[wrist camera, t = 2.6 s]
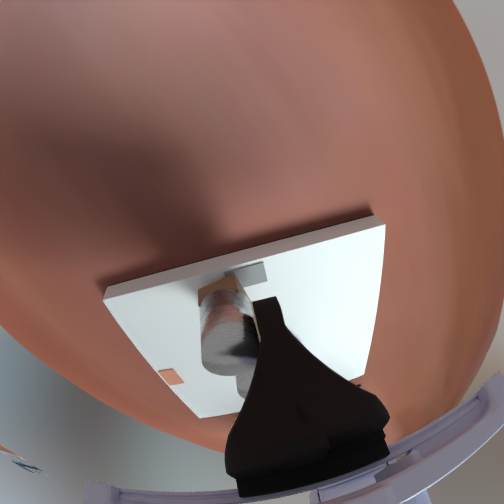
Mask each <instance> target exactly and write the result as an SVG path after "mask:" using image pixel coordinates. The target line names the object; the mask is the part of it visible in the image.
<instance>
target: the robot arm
mask: <svg viewBox="0 0 504 504" xmlns="http://www.w3.org/2000/svg"><path fill="white" fill-rule="evenodd" d="M252 304H253V308H254V313H255V317H256V321H257V326H258V330H259V334H260V338H261V340H260V346H259V352H258V358H257V362H256V367H255V370H254V374H253V378H252V381H251V384H250V387H249V390H248V393H247V396H246V398H245V401H244V403H243V406H242V408H241V410H240V413H239V415H238V417H237V419H236V421H235V423H234V425H233V427H232V429H231V431H230V433H229V435H228V439H227V444H226V449H225V467H226V473H227V474H228V475H230V476H231V477H233V478H235V479H236V482H237V488H238V489H231V490H221V491H205V492H157V491H142V490H132V489H123V488H118V487H116V486H114V485H111V484H107V483H102V482H96V481H91V480H85V492H84V504H241V503H249V502H256V501H263V500H269V499H275V498H280V497H285V496H289V495H294V494H298V493H302V492H306V491H310V490H311V492H310V496H309V498H310V504H432V503H431V501H430V498H429V496H428V493H427V491H426V489H427V488H429V487H430V486H432V485H433V484H435V483H436V482H438V481H439V480H441V479H442V478H443V477H445V476H446V475H448V474H449V473H450V472H451V471H453V470H454V469H456V468H457V467H458V466H459V465H461V464H462V463H463V462H464V461H466V460H467V459H468V458H469V457H470V456H472V455H473V454H474V453H475V452H476V451H477V450H479V449H480V448H481V447H482V446H483V445H484V444H485V443H486V442H487V441H488V440H489V439H490V438H491V437H492V436H493V435H494V434H496V433H497V432H498V431H499V429H501V428H502V426H504V377H503V375H502V374H501V372H500V371H498V372H497V373H495V374H494V375H493V376H492V377H491V378H490V379H489V380H487V381H486V382H485V383H484V384H483V385H482V386H481V387H480V388H479V389H478V390H477V391H476V393H475V394H474V395H472V396H471V397H470V398H468V399H467V400H465V401H464V402H463V403H461V404H460V405H458V406H457V407H455V408H454V409H453V410H451V411H450V412H448V413H446V414H445V415H443V416H442V417H440V418H439V419H437V420H435V421H434V422H432V423H430V424H429V425H427V426H425V427H424V428H422V429H420V430H418V431H416V432H415V433H413V434H411V435H409V436H407V437H405V438H403V439H401V440H399V441H397V442H395V443H393V444H391V445H389V446H387V444H386V442H385V440H384V438H385V433H384V431H383V428H384V427H385V425H386V424H387V423H388V421H389V419H390V416H389V413H388V411H387V410H386V408H385V407H384V405H383V404H382V402H381V401H380V400H379V399H378V397H377V396H376V395H374V394H372V393H370V392H368V391H366V390H364V389H363V387H358V386H357V385H355V384H353V383H352V382H350V381H348V380H347V379H345V378H343V377H342V376H341V375H339V374H338V373H336V372H335V371H333V370H332V369H331V368H329V367H328V366H326V365H325V364H324V363H323V362H322V361H320V360H319V359H318V358H317V357H316V356H314V355H313V354H312V353H311V352H310V351H309V350H308V349H307V348H306V347H305V346H304V345H303V344H302V343H301V342H300V341H299V340H298V339H297V338H296V337H295V336H294V335H293V334H292V333H291V331H290V330H289V329H288V328H287V327H286V325H285V322H284V318H283V314H282V309H281V306H280V304H279V301H278V299H277V297H276V296H274V297H269V298H265V299H261V300H257V301H253V302H252ZM405 453H407V454H406V456H405V457H403V458H401V459H399V460H398V461H397V460H396V459H395V458H397V457H399V456H401V455H403V454H405Z"/></svg>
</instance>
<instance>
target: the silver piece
mask: <svg viewBox="0 0 504 504" xmlns="http://www.w3.org/2000/svg"><path fill="white" fill-rule="evenodd" d="M198 306H199V307H200V337H201V359H202V365H203V366H204V368H205V369H206V370H208V371H209V372H211V373H213V374H216V375H221V376H235V379H236V386H237V391H238V394H239V395H240V396H241V397H242V398H244V399H245V398H246V396H247V393H248V390H249V387H250V384H251V381H252V378H253V374H254V370H255V367H256V362H257V358H258V352H259V346H260V340H261V338H260V334H259V330H258V326H257V321H256V317H255V313H254V308H253V304H252V302H251V300H250V299H249V297H248V295H247V294H246V292H245V290H244V289H243V287H242V285H241V284H240V282H239V280H238V278H237V277H236V275H235V273H234V274H232V275H230V276H227V277H225V278H223V279H220V280H218V281H216V282H214V283H211V284H209V285H207V286H204V287H202V288H200V289H198ZM301 343H302V342H301ZM302 344H303V343H302ZM303 345H304V344H303Z"/></svg>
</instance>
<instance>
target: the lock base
mask: <svg viewBox="0 0 504 504" xmlns="http://www.w3.org/2000/svg"><path fill="white" fill-rule="evenodd" d="M384 240H385V223H383V222H382V221H381V220H380V219H379V218H377V217H376V216H375V215H373V216H369V217H365V218H361V219H358V220H354V221H350V222H346V223H342V224H339V225H335V226H331V227H327V228H323V229H320V230H316V231H312V232H308V233H305V234H301V235H297V236H293V237H289V238H286V239H282V240H278V241H274V242H271V243H267V244H263V245H259V246H256V247H252V248H248V249H245V250H241V251H237V252H233V253H230V254H226V255H222V256H218V257H215V258H211V259H207V260H204V261H200V262H196V263H193V264H189V265H185V266H182V267H178V268H174V269H170V270H167V271H163V272H159V273H156V274H152V275H148V276H145V277H141V278H137V279H134V280H130V281H127V282H123V283H119V284H116V285H112V286H108V287H107V289H106V292H105V294H104V297H103V302H104V303H105V305H106V306H107V308H108V309H109V311H110V312H111V314H112V315H113V317H114V318H115V320H116V321H117V322H118V324H119V325H120V327H121V328H122V329H123V331H124V332H125V333H126V335H127V336H128V337H129V339H130V340H131V341H132V343H133V344H134V345H135V347H136V348H137V349H138V350H139V352H140V353H141V354H142V355H143V357H144V358H145V359H146V360H147V362H148V363H149V364H150V365H151V366H152V368H153V369H154V370H155V371H156V372H157V373H158V375H159V376H160V377H161V378H162V379H163V380H164V382H165V383H166V384H167V385H168V386H169V387H170V388H171V389H172V390H173V391H174V393H175V394H176V395H177V396H178V397H179V398H180V399H181V400H182V401H183V402H184V403H185V404H186V405H187V406H188V407H189V408H190V409H191V410H192V411H193V412H194V413H195V414H196V415H197V416H198V417H199V418H206V417H213V416H219V415H225V414H230V413H236V412H240V410H241V408H242V406H243V403H244V401H245V399H244V398H242V397H241V396H240V395H239V394H238V391H237V386H236V379H235V376H221V375H216V374H213V373H211V372H209V371H208V370H206V369H205V368H204V366H203V365H202V359H201V337H200V307H199V306H198V289H200V288H202V287H204V286H207V285H209V284H211V283H214V282H216V281H218V280H220V279H223V278H225V277H227V276H230V275H232V274H234V273H235V275H236V277H237V278H238V280H239V282H240V284H241V285H242V287H243V289H244V290H245V292H246V294H247V295H248V297H249V299H250V300H251V302H253V301H257V300H261V299H265V298H269V297H274V296H276V297H277V299H278V301H279V304H280V306H281V309H282V314H283V318H284V322H285V325H286V327H287V328H288V329H289V330H290V331H291V333H292V334H293V335H294V336H295V337H296V338H297V339H298V340H299V341H300V342H302V343H303V344H304V346H305V347H306V348H307V349H308V350H309V351H310V352H311V353H312V354H313V355H314V356H316V357H317V358H318V359H319V360H320V361H322V362H323V363H324V364H325V365H326V366H328V367H329V368H331V369H332V370H333V371H335V372H336V373H338V374H339V375H341V376H342V377H343V378H345V379H347V380H351V379H354V378H356V377H359V376H361V375H364V372H365V367H366V363H367V359H368V354H369V349H370V345H371V340H372V334H373V329H374V323H375V318H376V311H377V305H378V298H379V291H380V283H381V274H382V264H383V253H384Z"/></svg>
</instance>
